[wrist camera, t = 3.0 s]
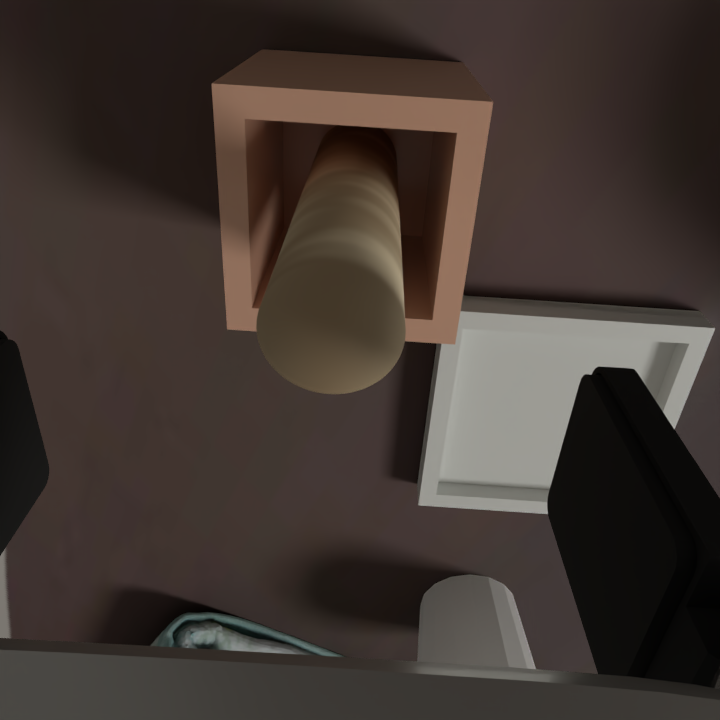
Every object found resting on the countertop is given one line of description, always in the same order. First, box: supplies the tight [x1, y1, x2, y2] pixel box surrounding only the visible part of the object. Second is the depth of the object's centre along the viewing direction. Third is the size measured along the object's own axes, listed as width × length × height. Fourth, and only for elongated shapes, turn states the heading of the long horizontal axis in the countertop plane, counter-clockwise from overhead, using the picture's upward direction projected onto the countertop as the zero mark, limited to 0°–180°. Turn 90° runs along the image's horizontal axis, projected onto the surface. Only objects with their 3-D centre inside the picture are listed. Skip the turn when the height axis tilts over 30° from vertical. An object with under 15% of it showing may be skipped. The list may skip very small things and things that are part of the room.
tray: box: [417, 295, 715, 514], centre depth 29 cm, size 11×11×2 cm
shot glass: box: [417, 574, 536, 669], centre depth 35 cm, size 7×7×7 cm
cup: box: [212, 49, 493, 345], centre depth 21 cm, size 7×7×8 cm
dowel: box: [256, 125, 406, 394], centre depth 18 cm, size 3×3×13 cm
